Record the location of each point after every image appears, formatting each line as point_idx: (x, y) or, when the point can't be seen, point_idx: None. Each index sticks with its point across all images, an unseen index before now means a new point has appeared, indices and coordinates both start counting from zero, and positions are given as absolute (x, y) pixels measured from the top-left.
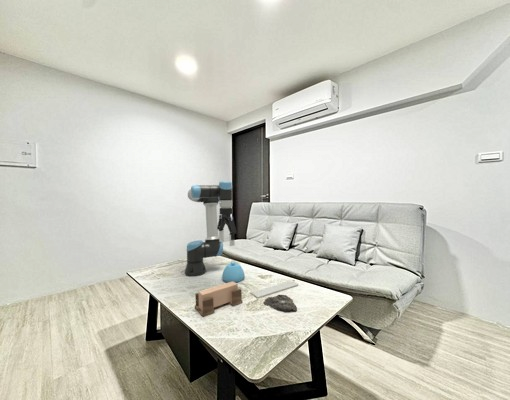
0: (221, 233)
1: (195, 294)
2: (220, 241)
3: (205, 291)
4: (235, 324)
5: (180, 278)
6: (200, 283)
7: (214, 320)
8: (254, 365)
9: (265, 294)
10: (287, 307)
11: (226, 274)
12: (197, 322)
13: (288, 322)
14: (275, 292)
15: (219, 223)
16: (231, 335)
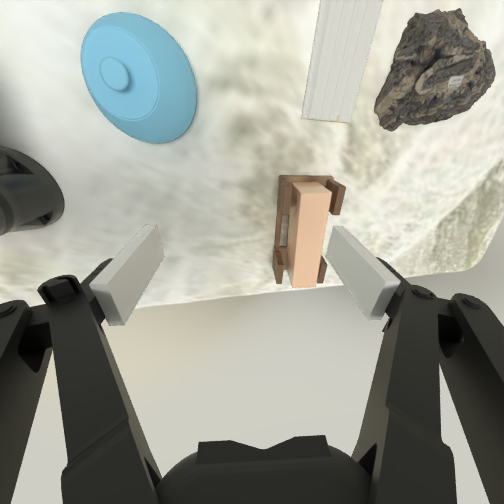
0: (131, 287)
1: (276, 282)
2: (162, 252)
3: (304, 277)
4: (381, 233)
5: (72, 244)
6: (141, 212)
7: None
8: (464, 257)
9: (360, 82)
10: (476, 97)
11: (163, 137)
12: None
13: (483, 140)
14: (375, 22)
15: (20, 442)
16: (396, 252)
